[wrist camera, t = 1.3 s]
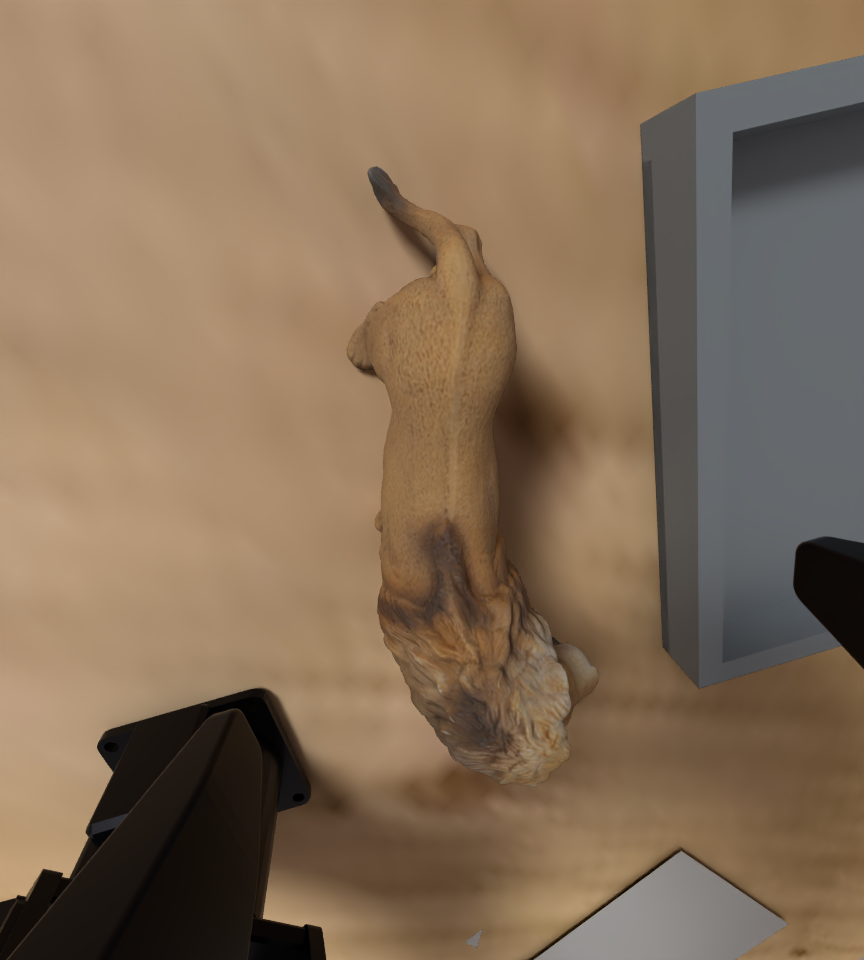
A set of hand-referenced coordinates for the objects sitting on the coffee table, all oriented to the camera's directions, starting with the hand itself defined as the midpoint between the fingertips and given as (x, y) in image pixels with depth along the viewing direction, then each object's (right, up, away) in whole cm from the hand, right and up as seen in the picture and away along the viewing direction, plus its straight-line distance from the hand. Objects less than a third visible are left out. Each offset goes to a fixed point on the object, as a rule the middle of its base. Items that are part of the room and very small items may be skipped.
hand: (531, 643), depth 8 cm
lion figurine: (-1, +4, +9) cm, 11 cm away
